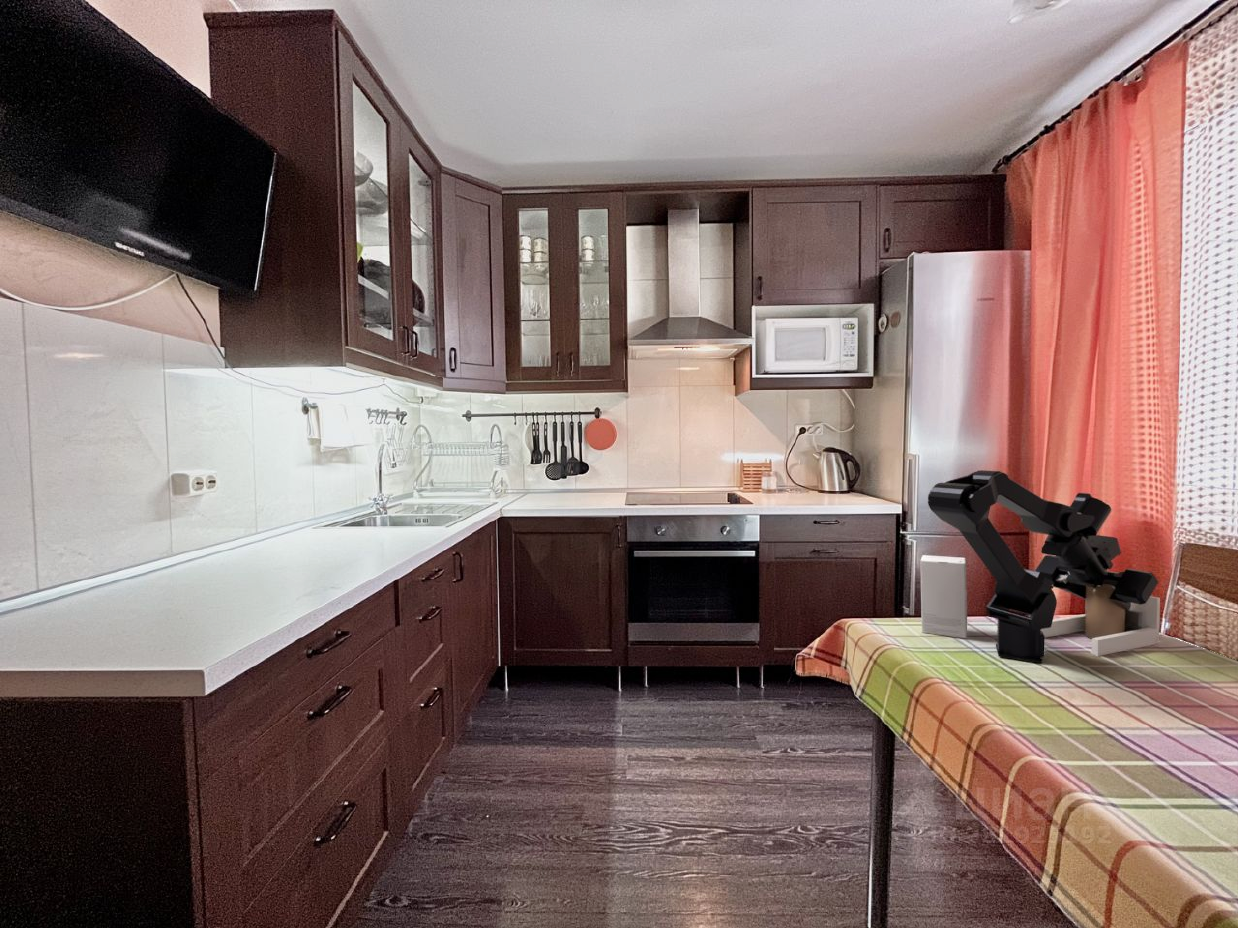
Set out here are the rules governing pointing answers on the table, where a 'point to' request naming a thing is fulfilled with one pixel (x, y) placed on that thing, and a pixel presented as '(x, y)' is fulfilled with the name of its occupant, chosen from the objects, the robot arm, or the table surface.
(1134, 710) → the table surface
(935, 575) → the skincare box
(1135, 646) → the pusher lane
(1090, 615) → the jar
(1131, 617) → the pusher paddle
